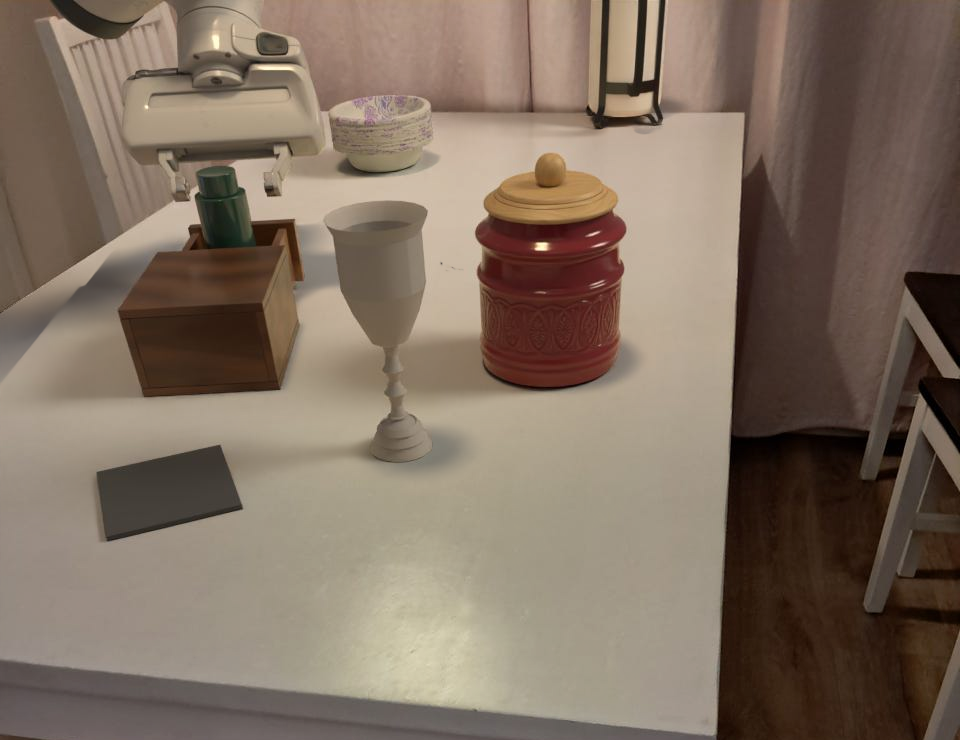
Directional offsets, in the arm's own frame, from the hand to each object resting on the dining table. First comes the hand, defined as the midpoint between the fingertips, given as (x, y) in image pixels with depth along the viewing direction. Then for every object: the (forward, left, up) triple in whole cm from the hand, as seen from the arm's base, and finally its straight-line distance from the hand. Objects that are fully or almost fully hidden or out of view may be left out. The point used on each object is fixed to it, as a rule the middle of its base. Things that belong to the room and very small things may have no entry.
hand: (227, 196), depth 94 cm
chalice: (+36, -13, -11) cm, 39 cm away
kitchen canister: (+36, +7, -11) cm, 38 cm away
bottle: (+2, -2, -9) cm, 9 cm away
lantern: (-9, +87, -11) cm, 89 cm away
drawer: (0, 0, -10) cm, 10 cm away
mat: (+26, -29, -11) cm, 40 cm away
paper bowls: (-26, +47, -11) cm, 55 cm away
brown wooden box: (+10, -11, -11) cm, 18 cm away
